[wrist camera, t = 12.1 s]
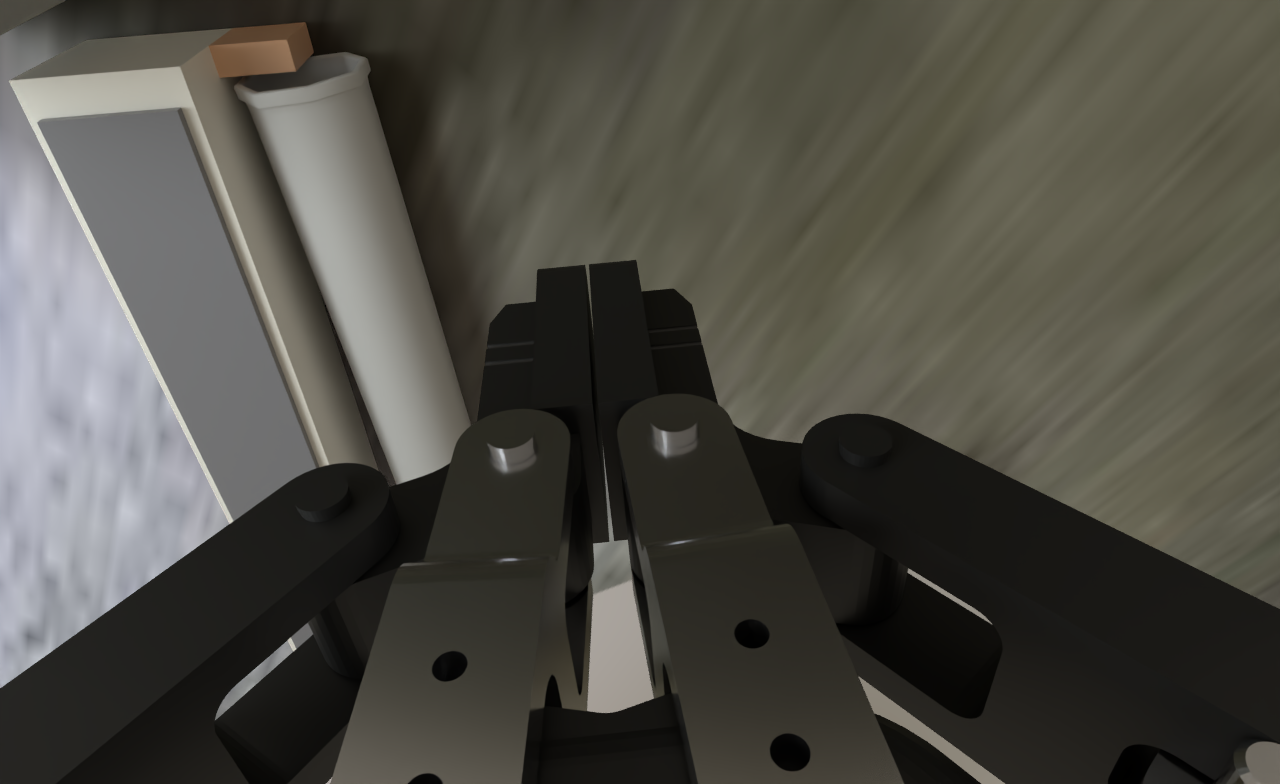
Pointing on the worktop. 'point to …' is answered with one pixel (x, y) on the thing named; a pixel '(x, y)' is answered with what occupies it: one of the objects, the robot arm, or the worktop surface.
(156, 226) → the long cream box
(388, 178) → the tube
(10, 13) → the skincare box
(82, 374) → the worktop surface
